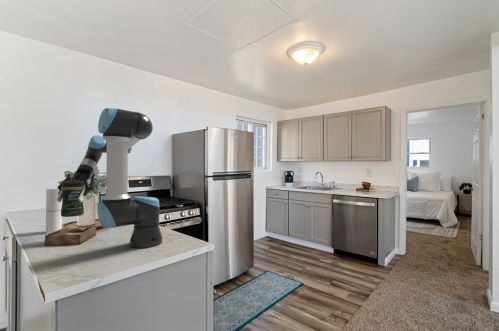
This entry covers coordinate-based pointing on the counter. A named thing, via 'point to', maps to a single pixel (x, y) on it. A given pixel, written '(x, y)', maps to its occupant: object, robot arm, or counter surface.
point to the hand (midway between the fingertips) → (69, 200)
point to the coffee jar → (72, 198)
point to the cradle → (69, 237)
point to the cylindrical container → (53, 211)
